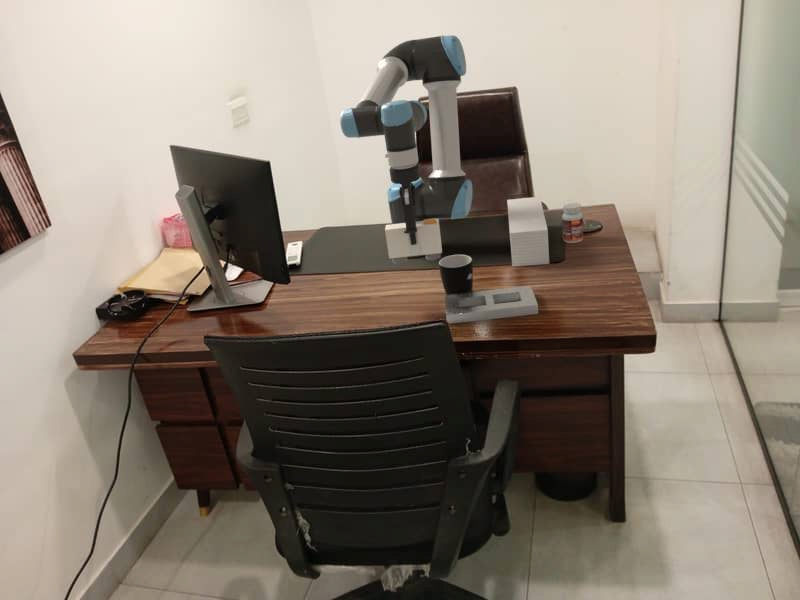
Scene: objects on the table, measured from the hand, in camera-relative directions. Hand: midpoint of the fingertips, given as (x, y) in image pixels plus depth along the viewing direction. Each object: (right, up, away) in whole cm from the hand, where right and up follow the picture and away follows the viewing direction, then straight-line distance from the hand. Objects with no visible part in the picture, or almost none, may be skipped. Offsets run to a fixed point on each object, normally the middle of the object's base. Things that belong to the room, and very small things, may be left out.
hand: (415, 251), depth 178 cm
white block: (0, -2, +1) cm, 2 cm away
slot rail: (+19, -15, -3) cm, 25 cm away
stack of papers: (+36, +4, +33) cm, 49 cm away
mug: (+12, -11, +8) cm, 19 cm away
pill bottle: (+50, +6, +31) cm, 59 cm away
